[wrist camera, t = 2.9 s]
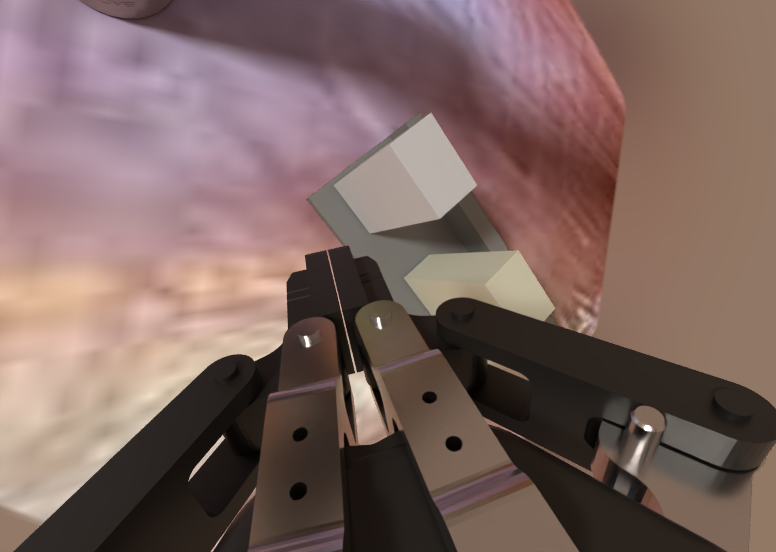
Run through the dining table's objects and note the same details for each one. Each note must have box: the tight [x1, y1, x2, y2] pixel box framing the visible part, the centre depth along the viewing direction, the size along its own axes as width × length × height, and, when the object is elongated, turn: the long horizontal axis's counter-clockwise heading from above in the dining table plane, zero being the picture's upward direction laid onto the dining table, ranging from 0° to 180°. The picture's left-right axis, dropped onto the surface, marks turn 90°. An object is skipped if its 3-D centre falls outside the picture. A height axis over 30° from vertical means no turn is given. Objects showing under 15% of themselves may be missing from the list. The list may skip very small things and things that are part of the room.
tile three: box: [334, 113, 477, 234], centre depth 33 cm, size 4×6×14 cm
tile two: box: [404, 250, 555, 321], centre depth 36 cm, size 4×6×14 cm
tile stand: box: [307, 113, 557, 326], centre depth 42 cm, size 13×31×5 cm, turn 39°
